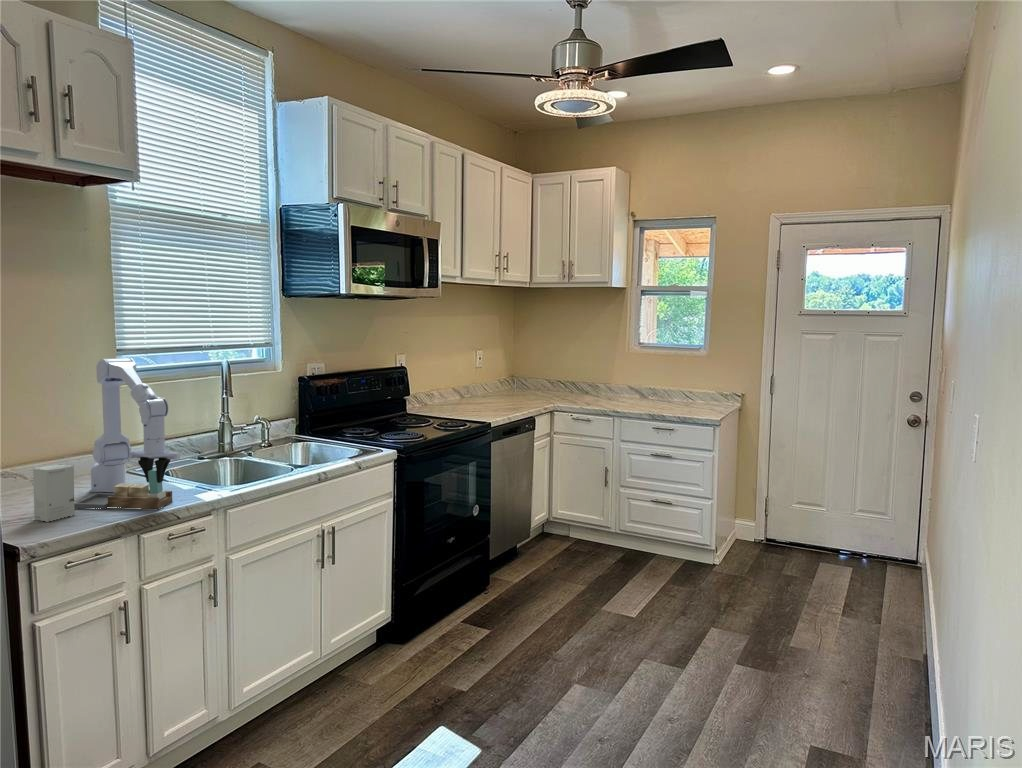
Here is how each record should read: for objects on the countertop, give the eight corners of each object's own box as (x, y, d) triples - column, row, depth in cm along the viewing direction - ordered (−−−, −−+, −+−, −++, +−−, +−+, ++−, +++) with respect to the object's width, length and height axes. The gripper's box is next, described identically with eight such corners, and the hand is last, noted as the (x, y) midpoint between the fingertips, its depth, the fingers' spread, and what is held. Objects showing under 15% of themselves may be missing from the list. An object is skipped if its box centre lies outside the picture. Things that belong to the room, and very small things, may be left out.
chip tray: (73, 508, 205) (72, 503, 205) (96, 497, 217) (96, 493, 217) (104, 509, 206) (104, 504, 205) (127, 498, 218) (126, 494, 217)
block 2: (128, 500, 209) (128, 487, 209) (136, 496, 213) (135, 483, 213) (142, 500, 209) (141, 487, 209) (148, 497, 213) (148, 484, 213)
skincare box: (47, 523, 192) (46, 470, 190) (32, 519, 194) (31, 468, 192) (76, 515, 199) (75, 464, 198) (61, 512, 202) (60, 462, 200)
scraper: (148, 501, 209) (145, 472, 208) (156, 496, 214) (153, 468, 213) (157, 500, 209) (155, 471, 208) (166, 496, 214) (163, 468, 213)
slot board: (107, 508, 207) (107, 496, 207) (124, 500, 216) (124, 489, 216) (157, 509, 207) (157, 498, 207) (172, 501, 216) (172, 490, 216)
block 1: (114, 499, 209) (113, 486, 209) (121, 496, 213) (121, 483, 213) (127, 500, 209) (127, 487, 209) (134, 496, 213) (134, 483, 213)
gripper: (122, 439, 205) (123, 484, 207) (171, 441, 206) (172, 485, 207) (135, 435, 212) (136, 478, 214) (182, 437, 213) (183, 480, 214)
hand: (154, 481), depth 211 cm, fingers closed on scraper, 3 cm apart
